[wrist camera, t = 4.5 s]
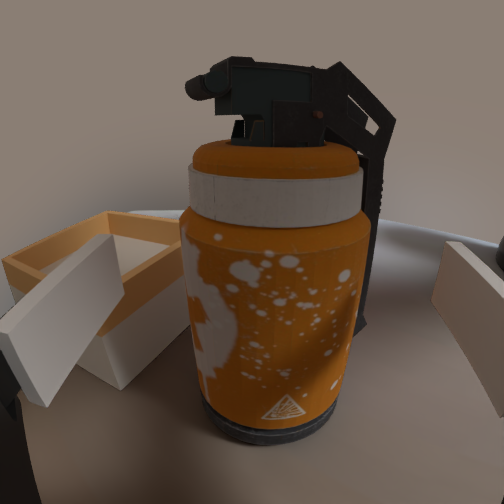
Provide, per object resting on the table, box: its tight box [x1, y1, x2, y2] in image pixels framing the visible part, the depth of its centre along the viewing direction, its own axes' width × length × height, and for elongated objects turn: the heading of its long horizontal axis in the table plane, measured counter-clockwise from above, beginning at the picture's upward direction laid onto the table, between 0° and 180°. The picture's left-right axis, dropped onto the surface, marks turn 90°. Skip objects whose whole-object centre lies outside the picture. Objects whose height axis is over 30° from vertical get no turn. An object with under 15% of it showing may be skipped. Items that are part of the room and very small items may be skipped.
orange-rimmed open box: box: [2, 211, 190, 391], centre depth 28 cm, size 15×15×8 cm
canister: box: [179, 56, 396, 445], centre depth 17 cm, size 9×11×20 cm
